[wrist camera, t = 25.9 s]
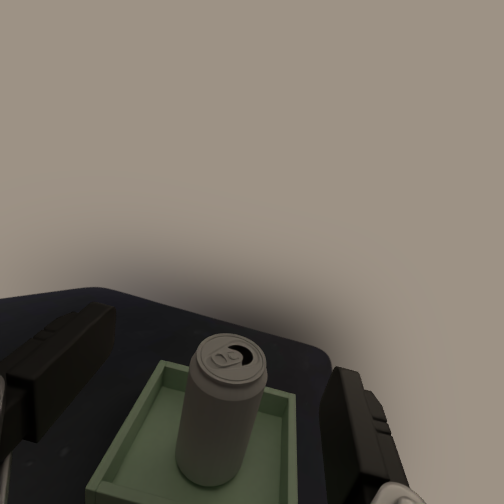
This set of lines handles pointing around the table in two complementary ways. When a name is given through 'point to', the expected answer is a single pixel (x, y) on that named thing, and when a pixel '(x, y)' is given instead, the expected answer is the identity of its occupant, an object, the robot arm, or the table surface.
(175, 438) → the tray
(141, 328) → the table surface
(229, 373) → the beverage can
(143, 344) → the table surface
